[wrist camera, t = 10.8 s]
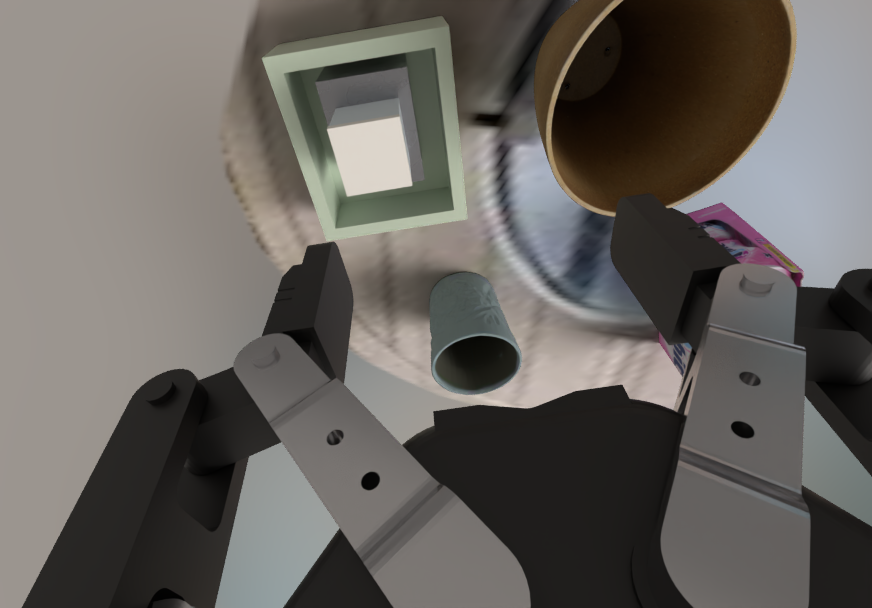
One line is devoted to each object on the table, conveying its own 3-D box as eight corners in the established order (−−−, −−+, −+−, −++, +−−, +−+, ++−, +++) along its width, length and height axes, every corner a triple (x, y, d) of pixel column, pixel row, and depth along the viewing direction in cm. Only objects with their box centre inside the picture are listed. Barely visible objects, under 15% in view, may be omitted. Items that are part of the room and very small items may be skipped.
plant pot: (470, 108, 40) (503, 177, 28) (556, -88, 32) (658, -111, 19) (595, 163, 45) (671, 243, 32) (700, 4, 36) (856, 33, 24)
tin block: (405, 51, 36) (406, 66, 31) (421, 154, 42) (424, 180, 37) (325, 65, 36) (315, 82, 32) (352, 166, 42) (347, 192, 37)
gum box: (652, 214, 49) (720, 285, 39) (723, 189, 48) (813, 256, 38) (658, 343, 64) (708, 419, 54) (712, 327, 63) (775, 402, 52)
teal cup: (430, 263, 51) (438, 331, 42) (510, 269, 53) (534, 336, 44) (420, 324, 58) (425, 394, 49) (492, 328, 59) (509, 397, 50)
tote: (441, 15, 35) (449, 25, 31) (460, 192, 46) (467, 219, 41) (278, 44, 36) (261, 58, 31) (333, 212, 46) (326, 241, 41)
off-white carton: (398, 96, 33) (399, 116, 29) (410, 160, 36) (412, 185, 32) (334, 108, 33) (326, 129, 29) (352, 170, 36) (347, 196, 32)
